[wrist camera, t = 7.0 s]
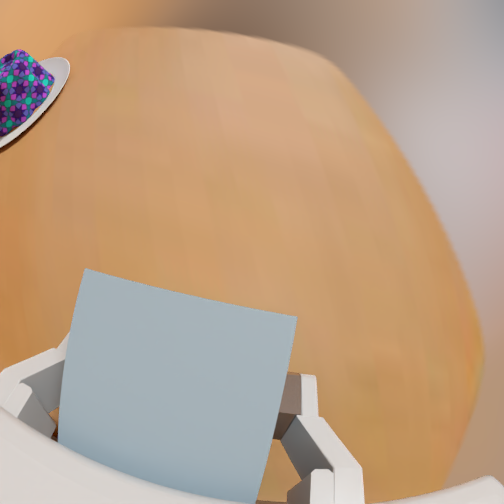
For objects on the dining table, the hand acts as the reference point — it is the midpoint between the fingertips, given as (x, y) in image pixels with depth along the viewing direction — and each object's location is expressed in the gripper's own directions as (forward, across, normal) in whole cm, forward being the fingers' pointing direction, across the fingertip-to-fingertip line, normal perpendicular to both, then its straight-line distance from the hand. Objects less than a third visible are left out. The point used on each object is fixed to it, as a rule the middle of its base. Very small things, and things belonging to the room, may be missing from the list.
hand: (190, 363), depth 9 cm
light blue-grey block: (+3, 0, +4) cm, 4 cm away
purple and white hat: (+14, +23, -7) cm, 28 cm away
